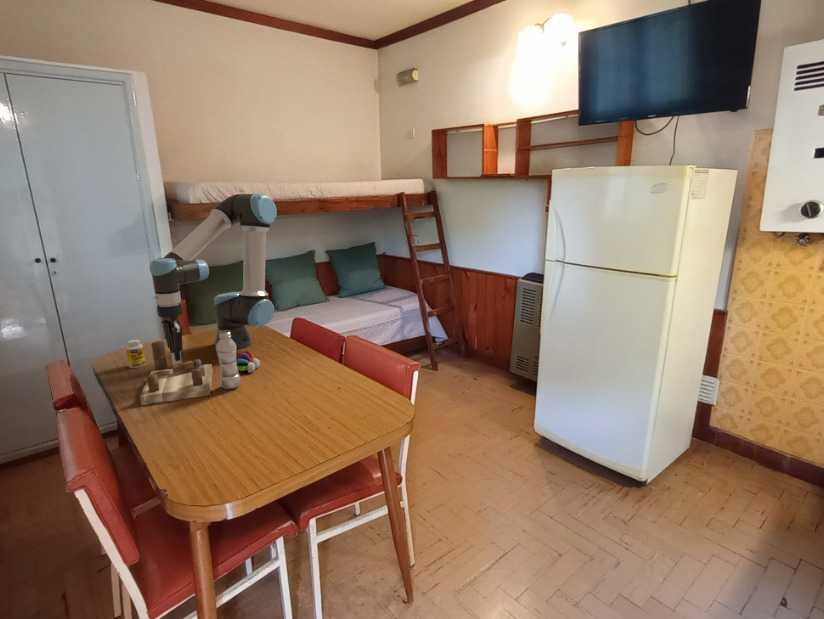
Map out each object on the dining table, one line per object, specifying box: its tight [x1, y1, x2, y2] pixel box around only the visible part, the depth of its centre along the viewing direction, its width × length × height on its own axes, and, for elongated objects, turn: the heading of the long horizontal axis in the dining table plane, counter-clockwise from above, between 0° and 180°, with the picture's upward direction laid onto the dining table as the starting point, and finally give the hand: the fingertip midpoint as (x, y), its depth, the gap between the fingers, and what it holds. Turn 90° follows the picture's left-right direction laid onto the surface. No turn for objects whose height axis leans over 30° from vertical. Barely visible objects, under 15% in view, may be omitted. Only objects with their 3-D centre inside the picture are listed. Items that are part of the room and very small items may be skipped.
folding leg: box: [171, 358, 202, 375], centre depth 164 cm, size 9×3×3 cm, turn 135°
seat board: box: [139, 363, 213, 406], centre depth 158 cm, size 20×22×8 cm
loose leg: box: [151, 340, 169, 371], centre depth 172 cm, size 4×4×11 cm
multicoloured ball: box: [236, 350, 261, 374], centre depth 172 cm, size 8×10×7 cm
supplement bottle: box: [125, 339, 146, 369], centre depth 177 cm, size 6×6×10 cm
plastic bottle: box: [215, 330, 241, 390], centre depth 155 cm, size 6×7×20 cm
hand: (177, 368), depth 163 cm, fingers closed
